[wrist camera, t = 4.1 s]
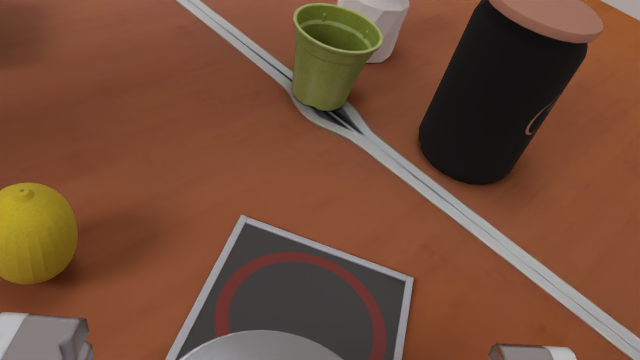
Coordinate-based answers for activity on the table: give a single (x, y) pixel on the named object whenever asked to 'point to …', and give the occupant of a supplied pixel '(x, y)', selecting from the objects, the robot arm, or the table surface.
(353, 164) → the table surface
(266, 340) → the steel pot
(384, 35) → the vase
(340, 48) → the plant pot
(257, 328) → the hob
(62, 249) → the lemon
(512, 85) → the coffee jar
